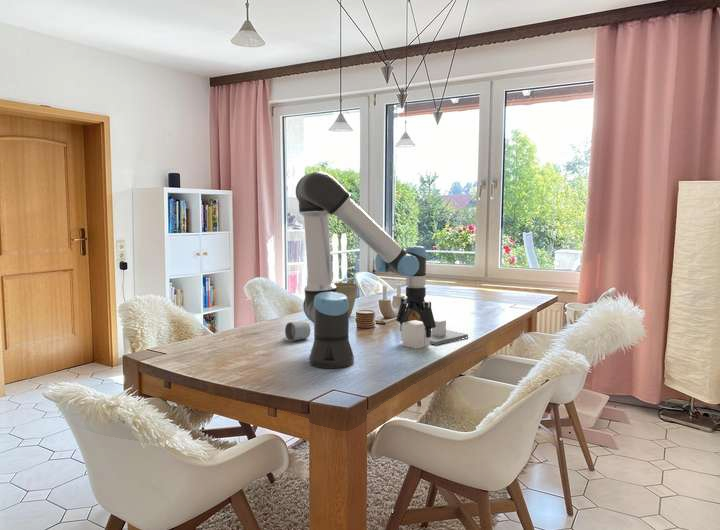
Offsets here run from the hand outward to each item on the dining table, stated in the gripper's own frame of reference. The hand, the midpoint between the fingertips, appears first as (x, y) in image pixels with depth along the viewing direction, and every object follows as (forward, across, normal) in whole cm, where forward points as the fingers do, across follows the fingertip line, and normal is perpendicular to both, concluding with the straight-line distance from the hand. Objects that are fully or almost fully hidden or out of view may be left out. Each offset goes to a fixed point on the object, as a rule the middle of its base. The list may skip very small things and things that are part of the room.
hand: (415, 342), depth 201 cm
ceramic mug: (+1, +39, +29) cm, 49 cm away
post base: (+1, +2, -16) cm, 16 cm away
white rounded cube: (+1, 0, 0) cm, 1 cm away
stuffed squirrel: (+1, +19, -20) cm, 27 cm away
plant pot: (+1, +66, -17) cm, 68 cm away
